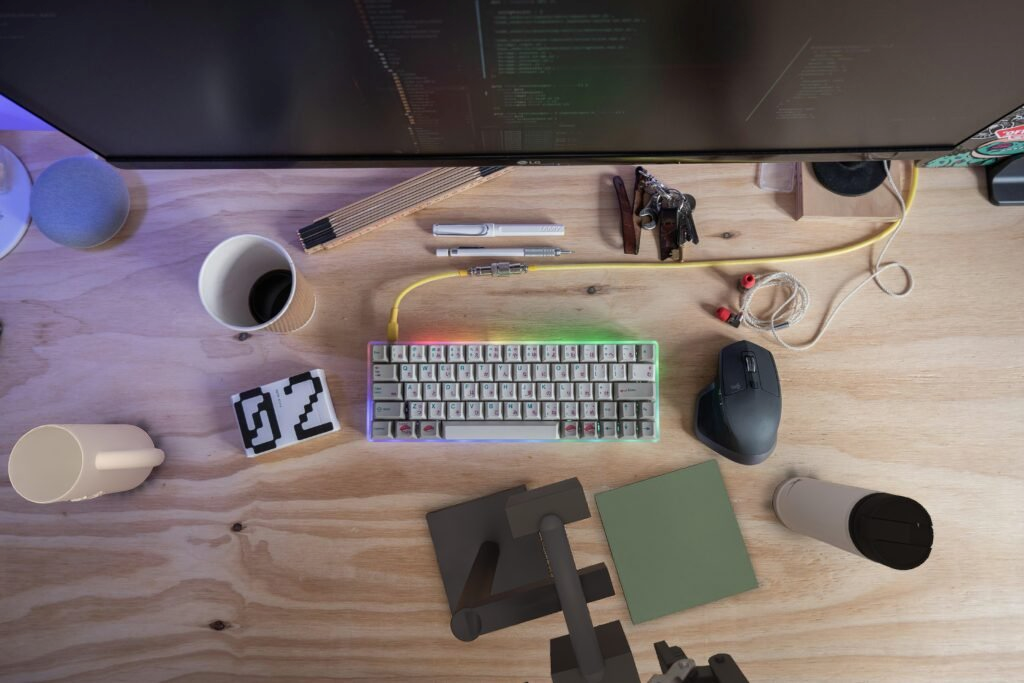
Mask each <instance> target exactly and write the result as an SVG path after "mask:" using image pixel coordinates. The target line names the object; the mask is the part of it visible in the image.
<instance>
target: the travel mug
mask: <svg viewBox="0 0 1024 683" xmlns="http://www.w3.org/2000/svg"><path fill="white" fill-rule="evenodd" d="M772 498H773V499H772V507H773V512H774V514H775V516H776V518H777V519H778V521H779V522H780V523H781V524H782V525H783V526H784V527H786V528H787V529H789V530H792V531H794V532H796V533H799V534H801V535H804V536H806V537H809V538H812V539H813V540H817V541H819V542H821V543H824V544H827V545H828V546H829V545H830V546H832V547H834V548H837V549H840V550H842V551H845V552H847V553H850V554H852V555H855V556H858V557H860V558H863V559H865V560H867V561H870V562H873V563H876V564H880V565H881V566H885V567H887V568H890V569H893V570H895V571H911V570H914V569H916V568H919V567H920V566H921V565H923V564H924V563H926V561H927V560H928V559H929V558H930V555H931V553H932V550H933V545H934V538H935V534H934V532H935V531H934V528H933V527H934V524H933V520H932V516H931V515H930V513H929V512H928V510H927V509H926V507H924V506H923V505H922V504H921V503H920V502H919V501H917V500H915V499H913V498H911V497H908V496H904V495H901V494H900V495H899V494H893V493H891V492H890V493H889V492H887V491H880V490H876V489H870V488H864V487H859V486H855V485H850V484H849V485H848V484H843V483H837V482H832V481H828V480H827V481H826V480H822V479H815V478H810V477H806V476H792V477H789V478H786V479H785V480H783V481H782V482H781V483H780V484H778V486H777V487H776V489H775V491H774V494H773V497H772Z"/></svg>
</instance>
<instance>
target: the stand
mask: <svg viewBox="0 0 1024 683" xmlns="http://www.w3.org/2000/svg"><path fill="white" fill-rule="evenodd" d="M525 491H528V490H527V488H526V484H525V483H524V484H521V485H520V484H519V485H517V486H514V487H511V488H506V489H503V490H500V491H496V492H493V493H491V494H490V493H489V494H486V495H483V496H481V497H477V498H474V499H471V500H470V499H469V500H466V501H462V502H461V503H457V504H456V503H455V504H453V505H450V506H447V507H443V508H439V509H436V510H433V511H430V512H427V513H426V514H425V518H426V522H427V526H428V530H429V534H430V537H431V541H432V545H433V549H434V553H435V557H436V559H437V564H438V568H439V571H440V575H441V579H442V583H443V587H444V591H445V594H446V598H447V602H448V606H449V610H450V614H451V618H450V624H449V625H450V630H451V633H452V635H453V636H454V637H455V638H456V639H457V640H459V641H461V642H464V643H468V642H469V643H470V642H473V641H475V640H476V639H478V638H479V637H480V636H484V635H487V634H490V633H493V632H496V631H500V630H504V629H507V628H511V627H513V626H517V625H520V624H523V623H526V622H527V623H528V622H530V621H534V620H537V619H540V618H544V617H547V616H550V615H553V614H557V613H560V612H563V611H562V607H561V604H560V600H559V597H558V593H557V590H556V586H555V583H554V579H553V576H552V573H551V569H550V566H549V562H548V559H547V555H546V552H545V548H544V545H543V541H542V538H541V534H540V532H538V533H535V534H531V535H528V536H524V537H521V538H517V539H513V538H512V534H511V531H510V527H509V524H508V520H507V517H506V513H505V509H504V508H505V505H506V503H507V501H508V499H509V497H510V496H511V495H515V494H518V493H522V492H525ZM577 572H578V575H579V579H580V582H581V586H582V589H583V592H584V596H585V599H586V603H587V604H590V603H593V602H597V601H600V600H603V599H607V598H610V597H614V596H616V591H615V588H614V585H613V581H612V578H611V575H610V571H609V568H608V566H607V565H606V562H605V561H601V562H598V563H595V564H591V565H588V566H586V567H581V568H578V569H577Z"/></svg>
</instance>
